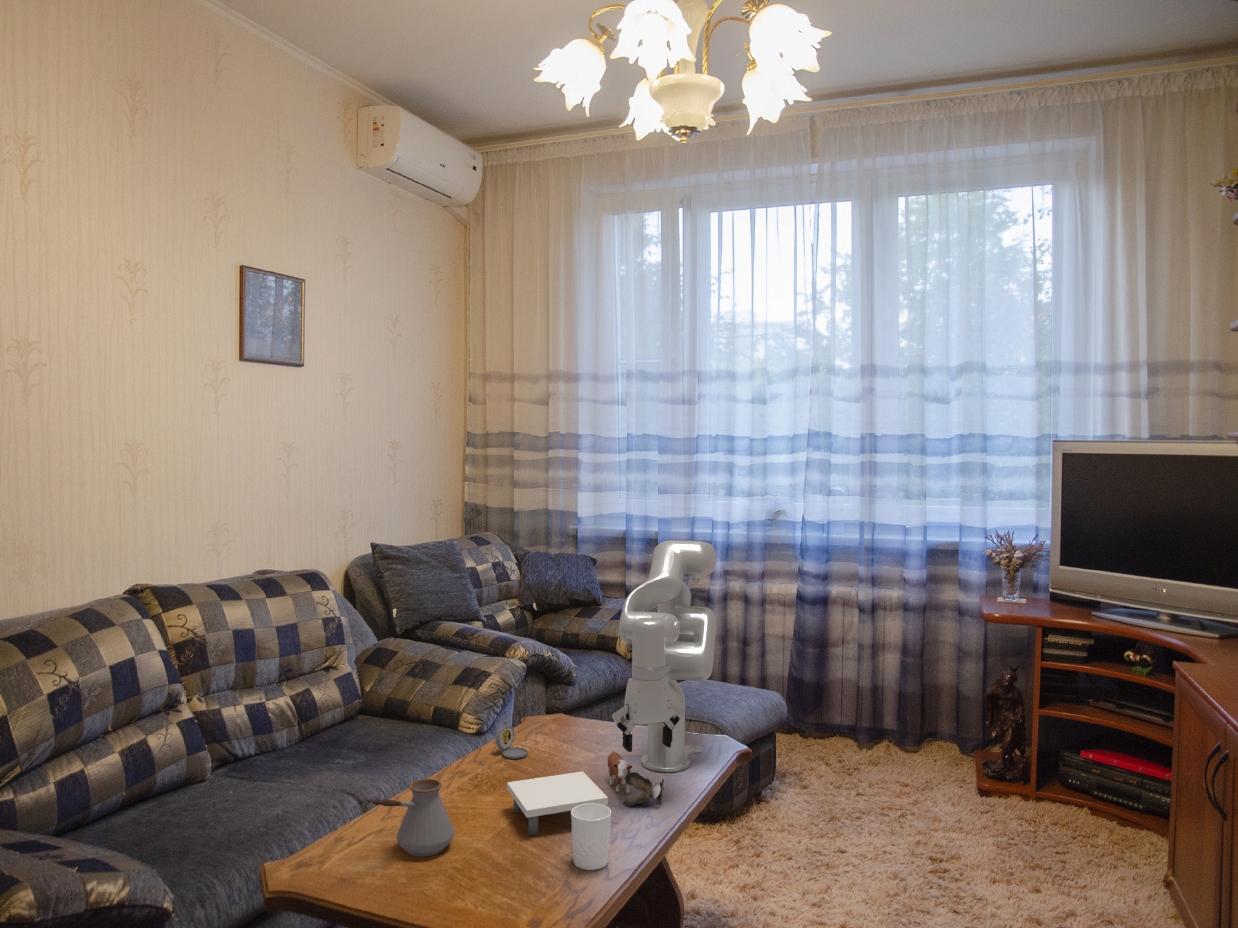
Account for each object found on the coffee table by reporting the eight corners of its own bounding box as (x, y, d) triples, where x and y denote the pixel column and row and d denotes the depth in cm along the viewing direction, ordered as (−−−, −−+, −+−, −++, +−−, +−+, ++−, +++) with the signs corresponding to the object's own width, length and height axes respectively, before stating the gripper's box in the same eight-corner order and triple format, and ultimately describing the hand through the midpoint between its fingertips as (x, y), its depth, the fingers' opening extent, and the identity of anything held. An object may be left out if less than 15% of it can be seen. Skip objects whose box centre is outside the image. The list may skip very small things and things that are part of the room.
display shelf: (582, 796, 199) (582, 771, 199) (607, 825, 184) (607, 797, 184) (507, 808, 192) (507, 782, 192) (526, 839, 177) (526, 810, 177)
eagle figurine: (661, 789, 201) (623, 781, 201) (666, 770, 197) (628, 763, 197) (658, 818, 194) (620, 810, 194) (664, 799, 190) (625, 792, 190)
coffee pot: (425, 830, 181) (425, 759, 181) (466, 843, 175) (466, 770, 175) (344, 872, 163) (344, 794, 163) (387, 888, 157) (387, 807, 157)
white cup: (616, 856, 170) (616, 806, 170) (602, 874, 163) (603, 822, 162) (579, 849, 173) (579, 800, 172) (564, 867, 165) (564, 816, 165)
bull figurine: (616, 801, 196) (616, 765, 196) (605, 779, 210) (605, 745, 210) (634, 799, 197) (634, 764, 197) (623, 777, 211) (623, 744, 210)
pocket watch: (526, 760, 222) (526, 721, 222) (493, 759, 222) (494, 721, 222) (529, 749, 230) (530, 712, 230) (498, 748, 230) (498, 711, 230)
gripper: (675, 666, 202) (674, 739, 202) (607, 672, 196) (606, 747, 196) (689, 673, 195) (689, 748, 195) (619, 679, 189) (618, 757, 189)
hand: (647, 747), depth 195 cm, fingers open, 9 cm apart
